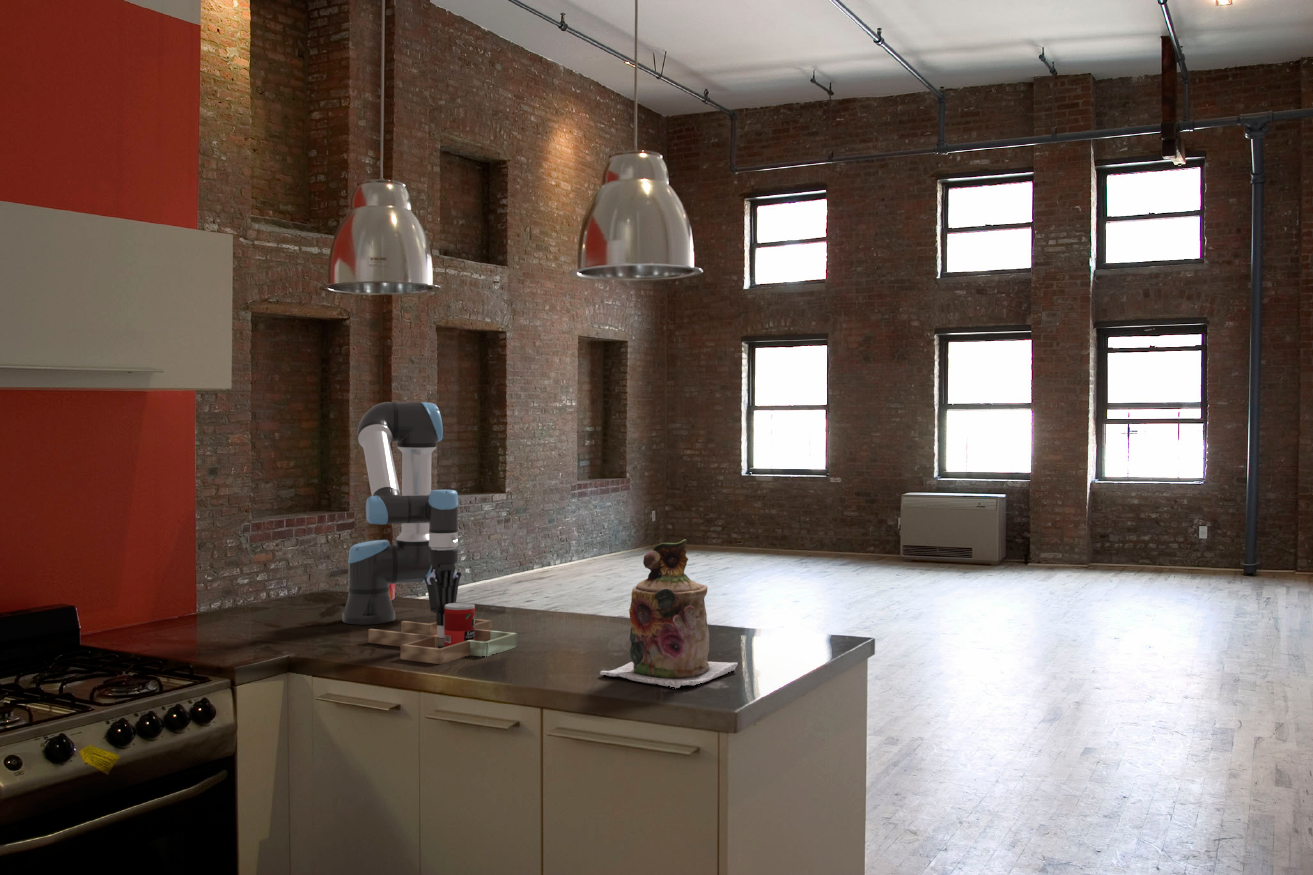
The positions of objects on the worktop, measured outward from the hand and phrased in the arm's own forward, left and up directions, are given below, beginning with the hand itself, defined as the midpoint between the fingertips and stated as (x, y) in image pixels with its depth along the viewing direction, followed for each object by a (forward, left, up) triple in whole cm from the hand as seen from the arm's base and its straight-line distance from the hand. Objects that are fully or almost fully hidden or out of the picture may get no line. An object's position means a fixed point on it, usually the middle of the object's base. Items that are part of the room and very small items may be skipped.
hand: (443, 637), depth 292 cm
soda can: (-61, +48, -2) cm, 78 cm away
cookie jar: (+68, -2, -2) cm, 68 cm away
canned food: (+5, 0, -2) cm, 6 cm away
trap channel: (-1, 0, -2) cm, 2 cm away
